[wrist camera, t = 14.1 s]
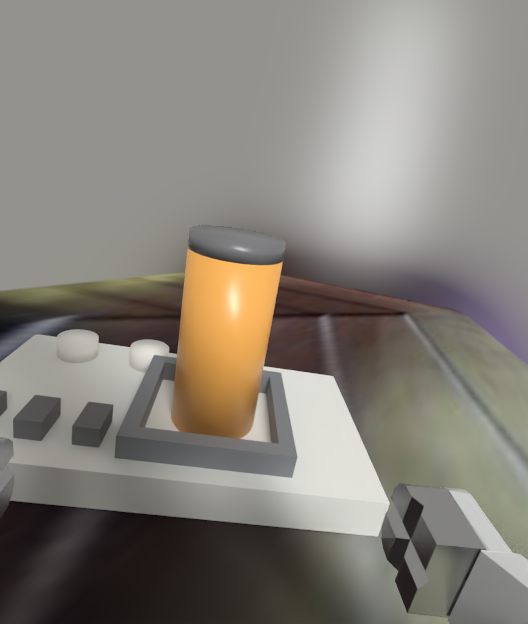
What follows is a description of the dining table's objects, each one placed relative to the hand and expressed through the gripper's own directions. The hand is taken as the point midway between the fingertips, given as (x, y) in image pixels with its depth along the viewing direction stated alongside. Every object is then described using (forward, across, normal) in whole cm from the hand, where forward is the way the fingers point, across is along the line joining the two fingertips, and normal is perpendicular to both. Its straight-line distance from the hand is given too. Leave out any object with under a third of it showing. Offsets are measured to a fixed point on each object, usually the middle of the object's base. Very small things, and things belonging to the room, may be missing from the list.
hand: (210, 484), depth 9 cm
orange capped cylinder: (+12, 0, +6) cm, 14 cm away
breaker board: (+13, +2, +9) cm, 16 cm away
